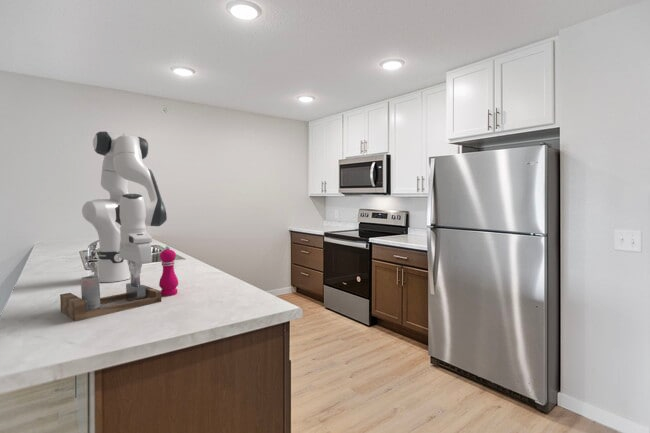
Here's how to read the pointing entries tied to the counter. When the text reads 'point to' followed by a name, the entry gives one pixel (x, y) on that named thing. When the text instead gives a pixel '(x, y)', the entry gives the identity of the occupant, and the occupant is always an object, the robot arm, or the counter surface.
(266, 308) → the counter surface
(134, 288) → the press jaw
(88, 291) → the energy drink
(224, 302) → the counter surface
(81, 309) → the press frame
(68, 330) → the counter surface
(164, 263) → the pepper mill
